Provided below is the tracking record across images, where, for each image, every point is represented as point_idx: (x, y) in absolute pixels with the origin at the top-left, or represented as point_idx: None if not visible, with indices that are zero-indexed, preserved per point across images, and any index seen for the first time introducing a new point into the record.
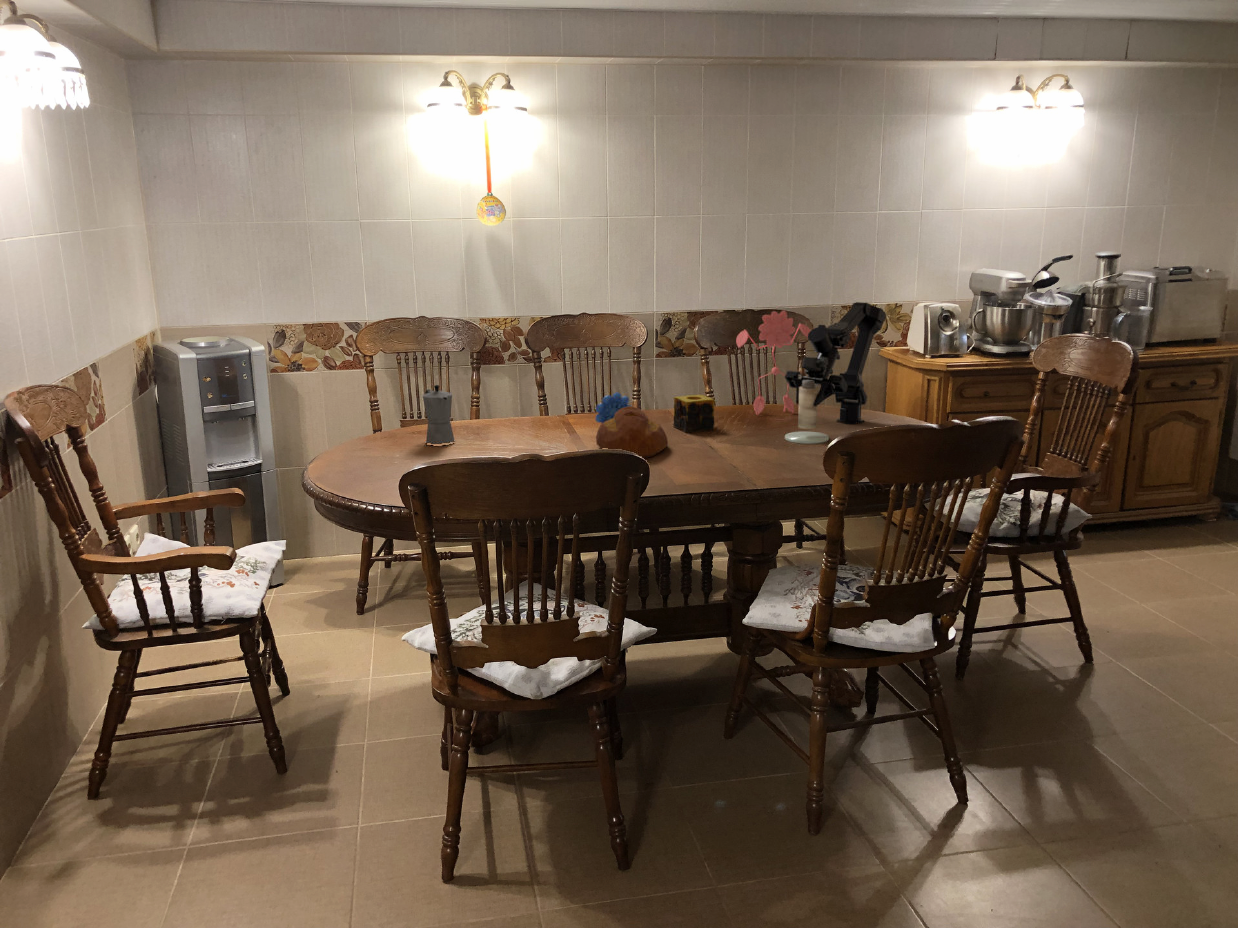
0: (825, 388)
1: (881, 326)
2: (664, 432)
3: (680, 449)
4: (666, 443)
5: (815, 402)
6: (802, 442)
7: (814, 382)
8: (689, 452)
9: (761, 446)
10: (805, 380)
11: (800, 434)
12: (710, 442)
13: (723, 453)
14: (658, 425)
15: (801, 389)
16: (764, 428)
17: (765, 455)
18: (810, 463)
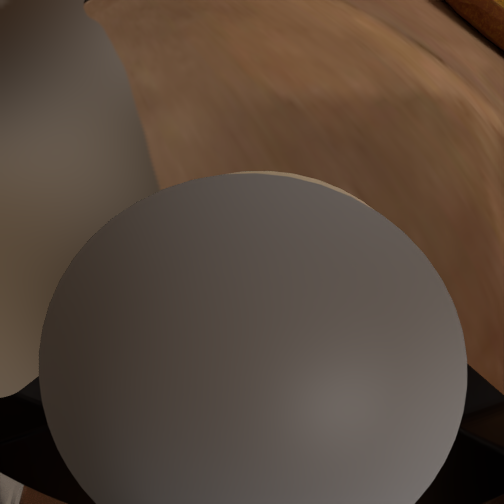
0: (7, 397)
1: None
2: (482, 5)
3: (451, 28)
4: (456, 3)
5: None
6: None
7: (68, 420)
8: (420, 13)
9: (344, 105)
10: (396, 447)
11: None
12: (473, 95)
13: (364, 19)
14: (499, 4)
15: (313, 182)
16: (487, 365)
17: (262, 37)
18: (122, 53)
